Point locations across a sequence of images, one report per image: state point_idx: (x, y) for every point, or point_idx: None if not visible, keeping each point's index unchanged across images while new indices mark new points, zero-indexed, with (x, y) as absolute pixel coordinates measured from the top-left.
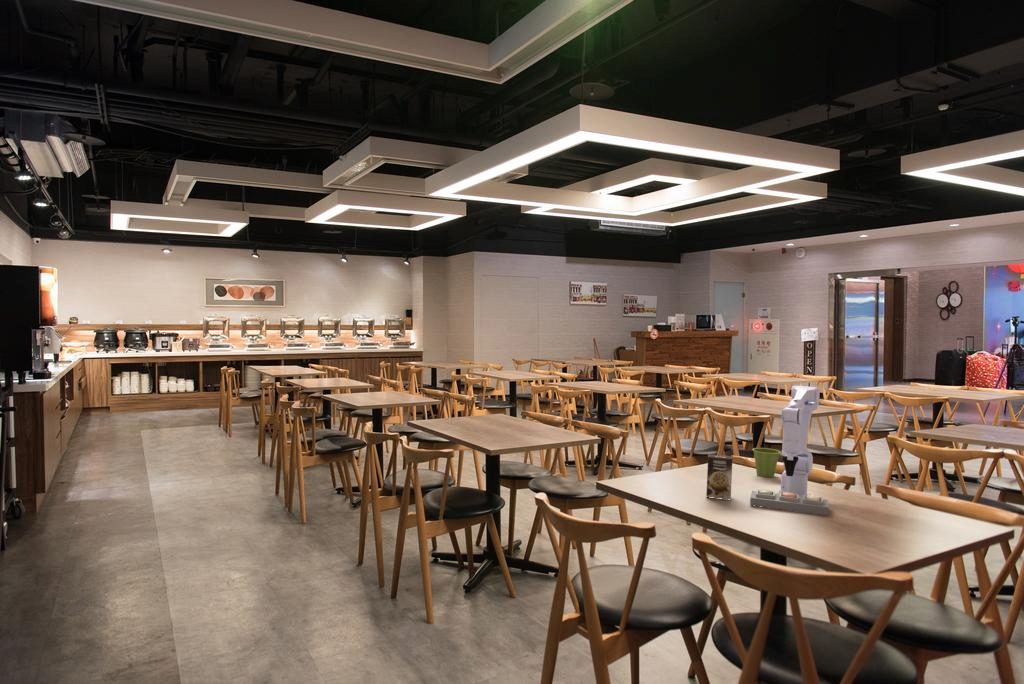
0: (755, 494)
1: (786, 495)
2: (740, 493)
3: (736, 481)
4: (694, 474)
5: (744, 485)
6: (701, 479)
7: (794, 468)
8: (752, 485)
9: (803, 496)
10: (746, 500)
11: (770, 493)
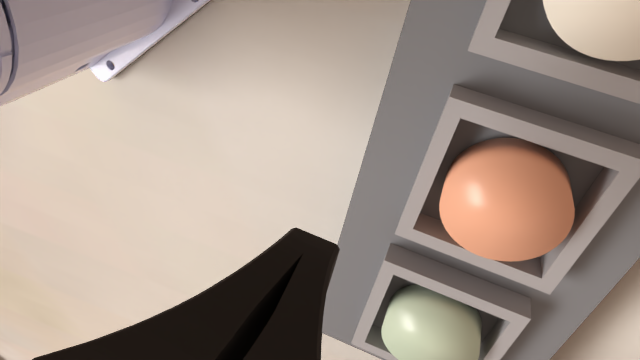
0: None
1: (551, 248)
2: None
3: (27, 230)
4: (28, 336)
5: (76, 222)
6: None
7: (319, 337)
8: (52, 184)
9: (532, 68)
10: None
11: (472, 327)
